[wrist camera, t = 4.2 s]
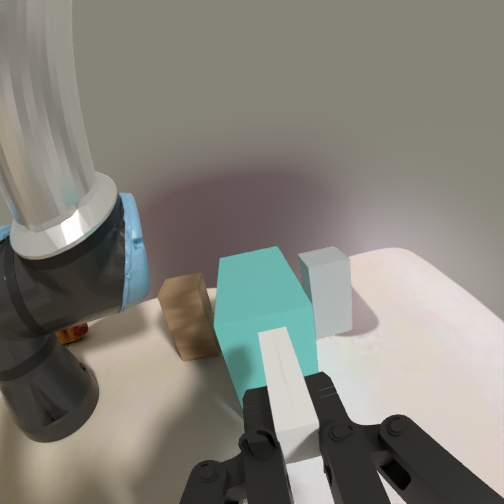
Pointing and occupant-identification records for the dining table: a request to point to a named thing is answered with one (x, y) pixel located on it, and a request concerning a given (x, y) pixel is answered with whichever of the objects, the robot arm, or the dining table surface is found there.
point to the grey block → (328, 289)
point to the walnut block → (189, 316)
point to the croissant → (72, 333)
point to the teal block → (260, 314)
